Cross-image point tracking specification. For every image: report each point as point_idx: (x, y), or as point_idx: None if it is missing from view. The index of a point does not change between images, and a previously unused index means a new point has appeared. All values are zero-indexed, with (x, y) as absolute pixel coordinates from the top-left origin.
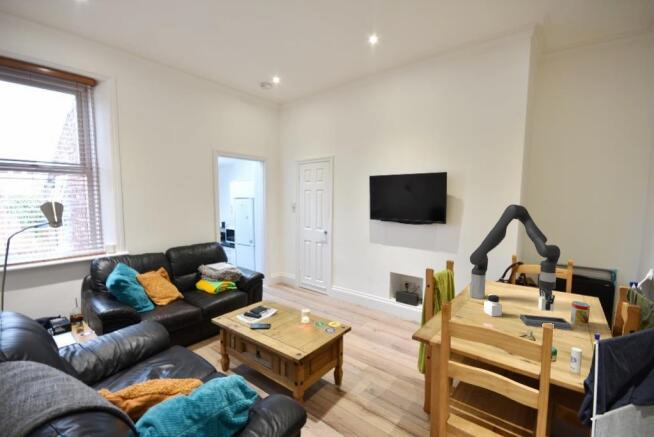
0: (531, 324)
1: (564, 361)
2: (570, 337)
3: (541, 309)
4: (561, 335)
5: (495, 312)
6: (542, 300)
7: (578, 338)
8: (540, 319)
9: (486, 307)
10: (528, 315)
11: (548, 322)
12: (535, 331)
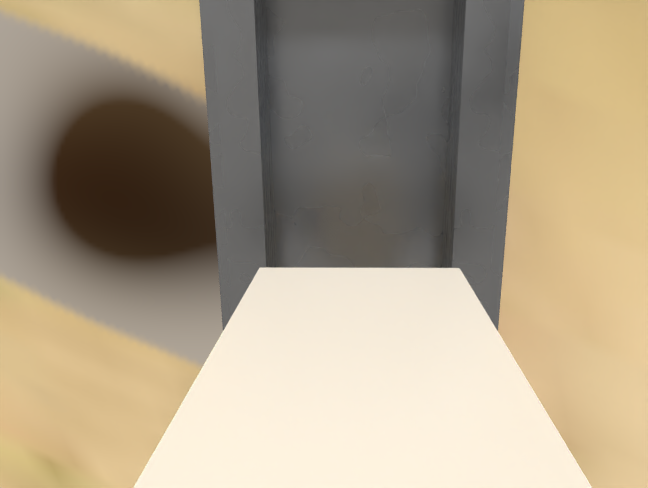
0: (204, 22)
1: None
2: (14, 400)
3: (254, 277)
4: (31, 325)
5: None
6: (157, 481)
7: (24, 470)
8: (442, 252)
9: None
10: (471, 55)
11: (232, 297)
12: (22, 16)
